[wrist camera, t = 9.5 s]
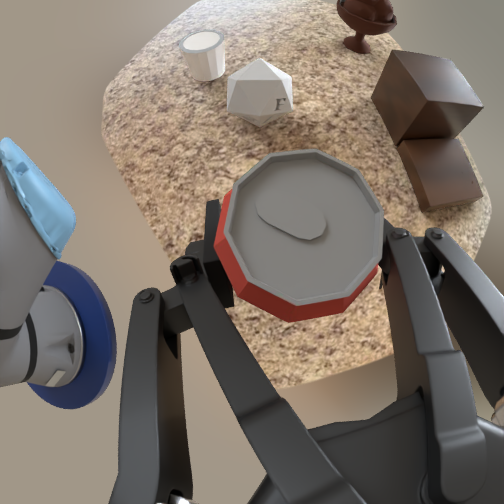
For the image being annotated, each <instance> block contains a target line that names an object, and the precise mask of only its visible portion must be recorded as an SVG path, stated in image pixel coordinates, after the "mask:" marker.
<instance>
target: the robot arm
mask: <svg viewBox="0 0 504 504" xmlns="http://www.w3.org/2000/svg"><path fill="white" fill-rule="evenodd" d="M220 213H221V206H220V202H219V199H216V200H212V201H207V204H206V218H205V234H204V240H200V241H195V242H190V244H189V245H188V246H187V248H186V251H185V255H184V256H181V257H179V258H177V259H176V260H174V261H173V262H172V263H171V265H170V271H171V273H172V276H173V278H174V280H175V283H176V286H175V287H173V288H171V289H169V290H167V291H165V292H162V293H160V291H159V290H158V289H157V288H147V289H144V290H142V291H141V292H139V293H138V294H137V295H136V296H135V298H134V300H133V305H132V311H131V317H130V323H129V329H128V336H127V343H126V351H125V359H124V367H123V377H122V387H121V401H120V415H119V442H118V443H119V445H118V446H119V447H118V476H117V479H116V482H115V485H114V488H113V491H112V494H111V497H110V501H109V504H199V503H197V502H196V501H193V500H192V496H193V482H192V471H191V464H190V456H189V448H188V439H187V429H186V419H185V408H184V395H183V380H182V364H181V363H182V362H181V339H180V333H181V332H184V331H186V330H188V329H190V328H193V327H194V329H195V332H196V334H197V336H198V339H199V341H200V343H201V346H202V348H203V350H204V352H205V354H206V357H207V359H208V361H209V363H210V365H211V367H212V369H213V372H214V374H215V376H216V378H217V380H218V382H219V384H220V386H221V388H222V390H223V392H224V394H225V396H226V398H227V400H228V402H229V404H230V406H231V408H232V410H233V412H234V414H235V416H236V418H237V420H238V422H239V424H240V426H241V428H242V430H243V432H244V434H245V435H246V437H247V439H248V441H249V443H250V444H251V446H252V448H253V450H254V452H255V453H256V455H257V457H258V459H259V460H260V462H261V464H262V465H263V467H264V469H265V470H266V472H267V474H266V476H265V478H264V479H263V481H262V482H261V484H260V485H259V487H258V489H257V490H256V491H255V493H254V495H253V496H252V497H251V499H250V500H249V502H248V503H247V504H504V297H503V296H502V295H501V293H500V292H499V291H498V290H497V288H496V287H495V286H494V284H493V283H492V282H491V281H490V280H489V278H488V277H487V276H486V275H485V274H484V273H483V271H482V270H481V269H480V268H479V267H478V265H477V264H476V263H475V262H474V261H473V260H472V259H471V258H470V257H469V255H468V254H467V253H466V252H465V251H464V250H463V249H462V248H461V247H460V246H459V245H458V244H457V243H456V242H455V241H454V240H453V238H452V237H451V236H450V235H449V234H448V233H446V232H445V231H444V230H442V229H440V228H429V229H427V230H426V231H425V237H412V235H411V233H410V232H409V231H407V230H406V229H403V228H395V227H393V226H392V225H391V224H390V223H389V222H388V221H387V220H386V219H384V225H383V246H382V259H381V260H380V261H379V262H378V265H379V266H380V267H381V269H382V273H381V280H380V287H379V289H381V288H382V285H383V289H384V294H385V299H386V305H387V310H388V316H389V322H390V329H391V335H392V342H393V350H394V358H395V367H396V377H397V388H398V395H397V400H396V401H395V402H393V403H392V404H391V405H389V406H388V407H386V408H385V409H384V410H382V411H381V412H379V413H377V414H376V415H374V416H373V417H371V418H370V419H367V420H360V421H347V422H334V423H331V424H327V425H323V426H320V427H316V428H312V429H308V430H307V429H306V428H305V426H304V425H303V423H302V422H301V420H300V419H299V417H298V416H297V415H296V413H295V412H294V410H293V409H292V407H291V406H290V405H289V403H288V402H287V401H286V400H285V399H284V398H281V397H280V396H279V394H278V393H277V392H276V390H275V388H274V387H273V385H272V384H271V382H270V381H269V379H268V378H267V376H266V375H265V373H264V372H263V370H262V368H261V367H260V365H259V364H258V362H257V361H256V359H255V357H254V356H253V354H252V353H251V351H250V350H249V348H248V346H247V345H246V343H245V342H244V340H243V338H242V337H241V335H240V333H239V332H238V330H237V329H236V327H235V325H234V324H233V322H232V320H231V319H230V317H229V315H228V314H227V312H226V310H225V309H224V308H229V307H234V298H233V288H232V284H231V282H230V280H229V278H228V276H227V274H226V272H225V270H224V268H223V265H222V263H221V261H220V259H219V257H218V255H217V253H216V251H215V249H214V242H215V237H216V232H217V228H218V223H219V218H220ZM75 225H76V217H75V213H74V211H73V209H72V207H71V206H70V205H69V203H68V202H67V201H66V199H65V198H64V197H63V196H62V195H61V193H60V192H59V191H58V190H57V189H56V188H55V186H54V185H53V184H52V183H51V182H50V181H49V180H48V178H47V177H46V176H45V175H44V174H43V173H42V172H41V171H40V169H39V168H38V167H37V166H36V165H35V164H34V163H33V162H32V161H31V160H30V158H29V157H28V156H27V155H26V154H25V153H24V152H23V151H22V150H21V149H20V148H19V147H18V146H17V145H16V144H15V143H14V142H13V141H12V140H11V139H10V138H8V137H5V138H3V139H2V140H1V141H0V387H3V386H8V385H13V384H17V383H22V382H28V383H33V384H37V385H42V386H47V387H60V386H64V385H67V384H69V383H71V382H73V381H74V380H75V379H76V378H77V377H78V375H79V374H80V372H81V370H82V368H83V365H84V362H85V357H86V335H85V330H84V325H83V322H82V319H81V316H80V314H79V311H78V309H77V307H76V306H75V304H74V303H73V301H72V300H71V299H70V297H69V296H68V295H67V294H66V293H65V292H63V291H62V290H60V289H59V288H56V287H53V286H48V285H43V283H44V282H45V280H46V278H47V276H48V274H49V273H50V271H51V269H52V267H53V266H54V264H55V262H56V261H57V259H60V258H61V252H62V250H63V249H64V247H65V245H66V243H67V242H68V240H69V238H70V236H71V235H72V233H73V231H74V229H75ZM442 265H443V267H444V269H445V272H444V273H443V272H442V270H441V268H442ZM445 321H446V322H445ZM446 323H447V325H448V326H449V328H450V330H451V332H452V333H453V335H454V337H455V339H456V340H457V342H458V344H459V345H460V348H461V350H462V351H463V352H461V351H460V350H457V351H455V350H454V349H453V346H452V342H451V339H450V335H449V332H448V329H447V325H446ZM463 353H464V355H465V357H466V359H467V361H468V363H469V365H470V367H471V369H472V371H473V373H474V375H475V377H476V379H477V381H478V383H479V385H480V387H481V389H482V391H483V393H484V395H485V397H486V398H487V400H488V401H489V403H490V404H491V406H492V407H493V408H494V409H495V412H494V413H493V415H492V417H491V421H492V422H490V421H488V420H485V419H483V418H481V417H479V416H477V413H476V407H475V402H474V396H473V391H472V386H471V381H470V377H469V372H468V369H467V364H466V360H465V357H464V355H463Z"/></svg>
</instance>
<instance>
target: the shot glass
mask: <svg viewBox="0 0 504 504" xmlns="http://www.w3.org/2000/svg"><path fill="white" fill-rule="evenodd" d="M179 49H180V51H181V53H182V55H183V58H184V60H185V62H186V64H187V66H188V69H189V71H190V73H191V75H192V77H193V78H194V79H195V80H198V81H204V82H206V81H212V80H214V79H217V78H219V77H220V76H221V75H222V74H223V73H224V71H225V46H224V35H223V34H222V33H221V32H220V31H216V30H207V29H205V30H200V31H196V32H193V33H190V34H188V35H187V36H185V37H184V38H183V39H182V40H181V41H180V43H179Z"/></svg>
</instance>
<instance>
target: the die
mask: <svg viewBox="0 0 504 504" xmlns="http://www.w3.org/2000/svg"><path fill="white" fill-rule="evenodd" d="M292 111H293V99H292V77H291V76H289V75H288V74H286V73H284V72H283V71H281V70H279V69H278V68H276V67H274V66H273V65H271V64H269V63H268V62H266V61H264V60H262V59H260V58H258V59H256V60H254V61H253V62H251V63H249V64H248V65H246V66H245V67H243V68H241V69H240V70H238V71H237V72H235V73H233V74H232V75H230V76H229V77H228V82H227V112H229V113H231V114H233V115H236V116H238V117H240V118H242V119H244V120H246V121H248V122H250V123H252V124H254V125H256V126H258V127H262V126H264V125H266V124H268V123H270V122H271V121H274V120H276V119H278V118H280V117H282V116H284V115H286V114H288V113H290V112H292Z"/></svg>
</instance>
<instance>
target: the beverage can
mask: <svg viewBox="0 0 504 504" xmlns="http://www.w3.org/2000/svg"><path fill="white" fill-rule="evenodd" d="M383 225H384V210H383V208H382V206H381V205H380V203H379V201H378V199H377V198H376V196H375V195H374V193H373V191H372V190H371V188H370V186H369V185H368V183H367V182H366V180H365V179H364V177H363V175H362V174H361V172H360V171H359V170H358V169H357V168H355V167H353V166H351V165H349V164H347V163H345V162H343V161H341V160H339V159H337V158H335V157H333V156H331V155H329V154H327V153H325V152H322V151H320V150H318V149H305V150H294V151H285V152H276V153H269V154H268V155H267V156H265V157H264V158H263V159H262V160H261V161H259V162H258V163H257V164H256V165H255V166H254V167H252V168H251V169H250V170H249V171H248V172H247V173H245V174H244V175H243V176H242V177H241V178H240V179H239V180H237V181H236V182H235V183H234V184H233V189H231V190H230V191H229V192H228V193H227V194H226V195H225V196H224V200H223V204H222V209H221V213H220V218H219V223H218V228H217V232H216V237H215V242H214V249H215V251H216V253H217V255H218V257H219V259H220V261H221V263H222V265H223V268H224V270H225V272H226V274H227V276H228V278H229V280H230V282H231V284H232V286H233V288H234V290H235V292H236V295H237V297H239V298H241V299H243V300H245V301H247V302H249V303H251V304H253V305H254V306H256V307H258V308H260V309H262V310H264V311H266V312H268V313H270V314H272V315H274V316H276V317H278V318H280V319H282V320H284V321H286V322H288V323H290V322H296V321H302V320H307V319H313V318H318V317H324V316H329V315H334V314H339V313H343V312H344V311H345V310H346V309H347V308H348V306H349V305H350V304H351V303H352V302H353V301H354V300H355V299H356V297H357V296H358V295H359V294H360V293H361V292H362V291H363V289H364V288H365V287H366V286H367V285H368V284H369V282H370V281H371V280H372V279H373V278H374V276H375V275H376V274H377V271H378V262H379V261H380V260H381V259H382V246H383Z"/></svg>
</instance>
